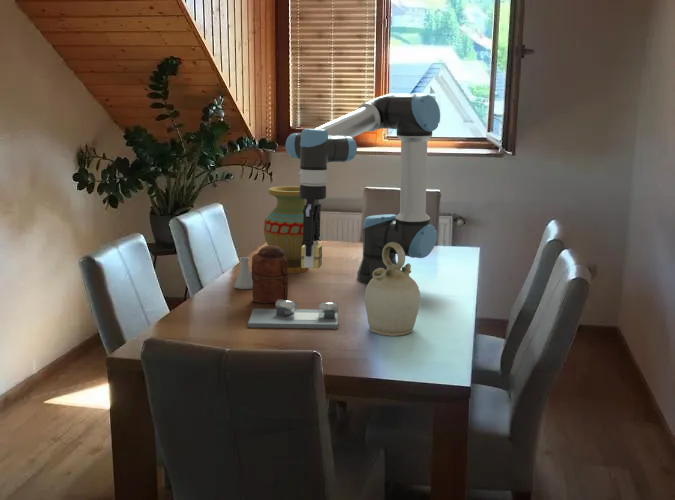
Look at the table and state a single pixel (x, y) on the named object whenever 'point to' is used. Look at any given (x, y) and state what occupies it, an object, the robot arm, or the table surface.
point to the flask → (244, 275)
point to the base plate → (291, 319)
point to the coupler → (316, 256)
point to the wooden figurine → (269, 275)
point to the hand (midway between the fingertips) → (310, 264)
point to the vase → (287, 225)
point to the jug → (392, 296)
